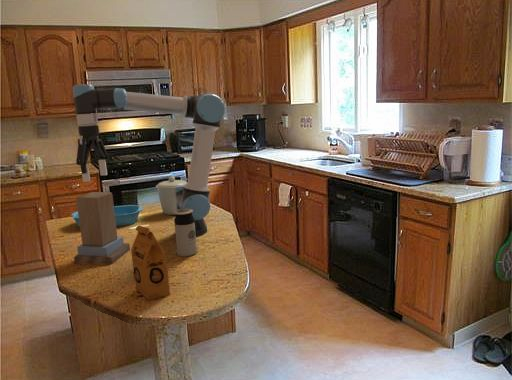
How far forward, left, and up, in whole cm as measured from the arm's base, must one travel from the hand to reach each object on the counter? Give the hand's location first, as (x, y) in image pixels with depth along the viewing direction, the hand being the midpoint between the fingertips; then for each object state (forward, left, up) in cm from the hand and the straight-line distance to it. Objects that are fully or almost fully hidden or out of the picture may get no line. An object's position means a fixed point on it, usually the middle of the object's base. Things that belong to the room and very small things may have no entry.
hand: (95, 178), depth 169 cm
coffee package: (-35, +34, -33) cm, 58 cm away
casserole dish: (+24, -48, -33) cm, 63 cm away
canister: (-7, -66, -33) cm, 74 cm away
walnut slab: (0, +2, -33) cm, 33 cm away
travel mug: (-35, -2, -33) cm, 48 cm away
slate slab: (+1, +2, -30) cm, 30 cm away
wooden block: (+1, +2, -27) cm, 27 cm away
